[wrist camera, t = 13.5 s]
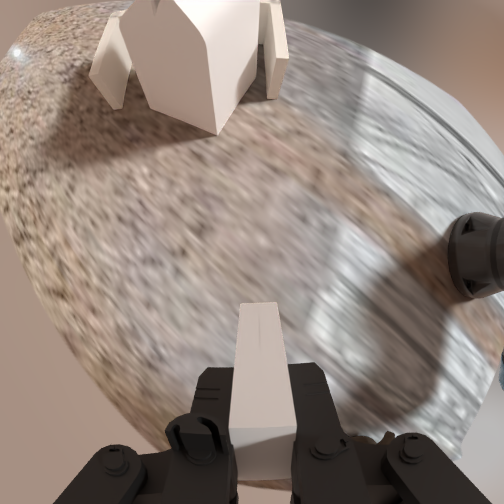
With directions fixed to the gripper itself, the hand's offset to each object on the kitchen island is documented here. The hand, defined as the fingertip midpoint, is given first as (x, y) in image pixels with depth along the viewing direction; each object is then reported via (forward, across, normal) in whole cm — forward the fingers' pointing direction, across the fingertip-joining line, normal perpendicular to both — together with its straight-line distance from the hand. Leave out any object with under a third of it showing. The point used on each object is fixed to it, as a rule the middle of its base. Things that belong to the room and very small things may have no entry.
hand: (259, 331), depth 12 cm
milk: (+32, +7, -20) cm, 38 cm away
